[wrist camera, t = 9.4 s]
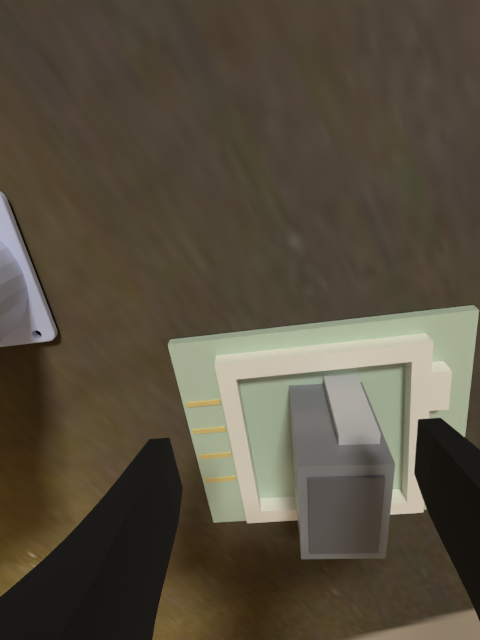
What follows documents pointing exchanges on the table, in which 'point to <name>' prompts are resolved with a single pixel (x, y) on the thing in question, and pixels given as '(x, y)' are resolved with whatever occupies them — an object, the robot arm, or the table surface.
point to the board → (308, 368)
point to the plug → (339, 470)
